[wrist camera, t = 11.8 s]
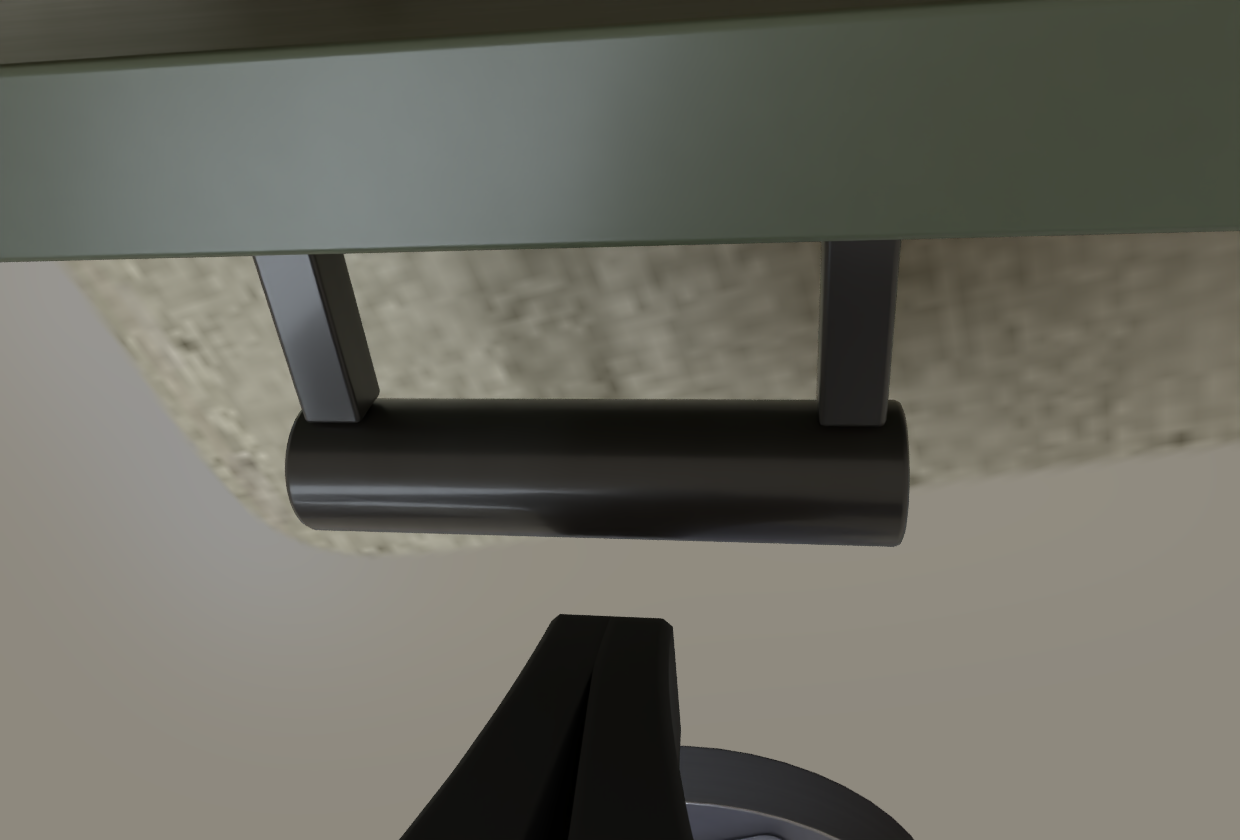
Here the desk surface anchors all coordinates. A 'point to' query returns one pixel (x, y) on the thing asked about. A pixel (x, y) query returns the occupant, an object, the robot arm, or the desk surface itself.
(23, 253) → the drawer
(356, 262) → the desk surface
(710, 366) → the desk surface
